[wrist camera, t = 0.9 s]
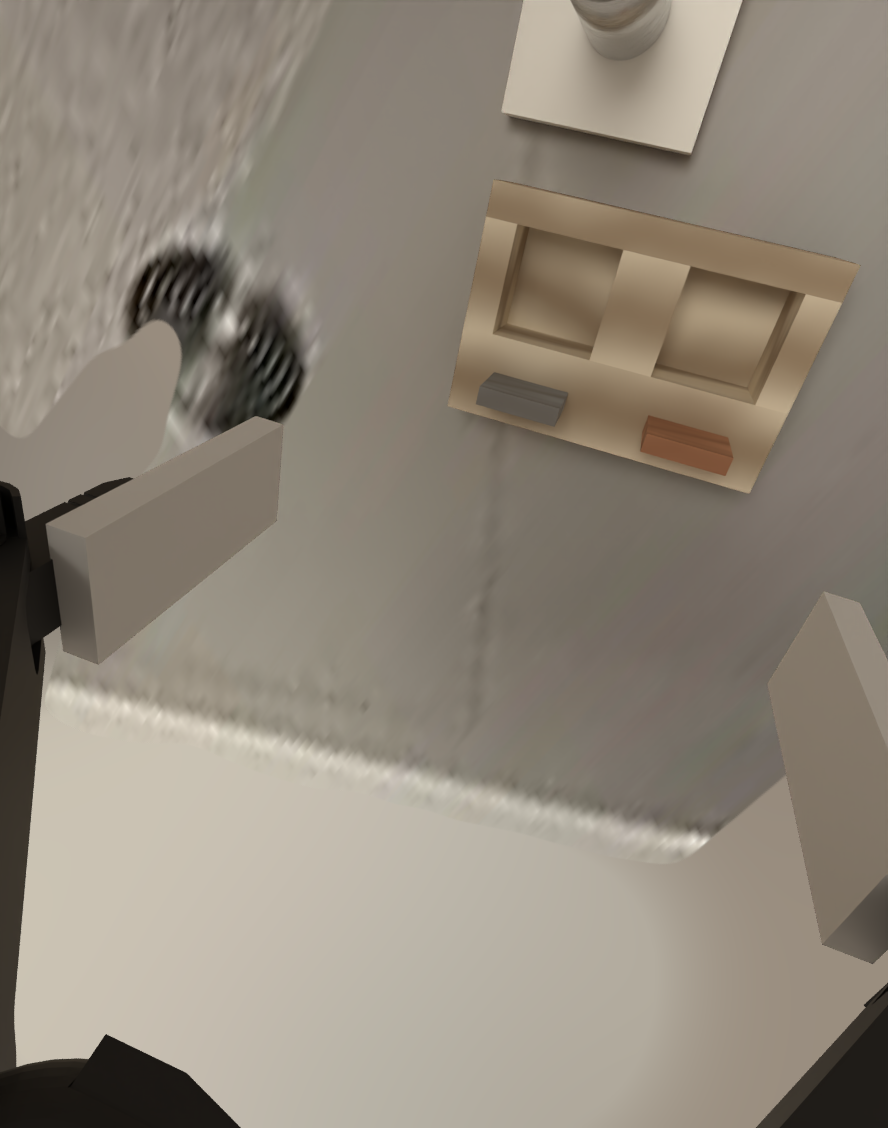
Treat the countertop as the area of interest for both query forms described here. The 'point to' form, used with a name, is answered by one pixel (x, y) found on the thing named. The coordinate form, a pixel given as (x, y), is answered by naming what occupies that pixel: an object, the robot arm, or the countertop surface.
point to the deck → (619, 74)
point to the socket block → (641, 332)
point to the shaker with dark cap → (622, 25)
